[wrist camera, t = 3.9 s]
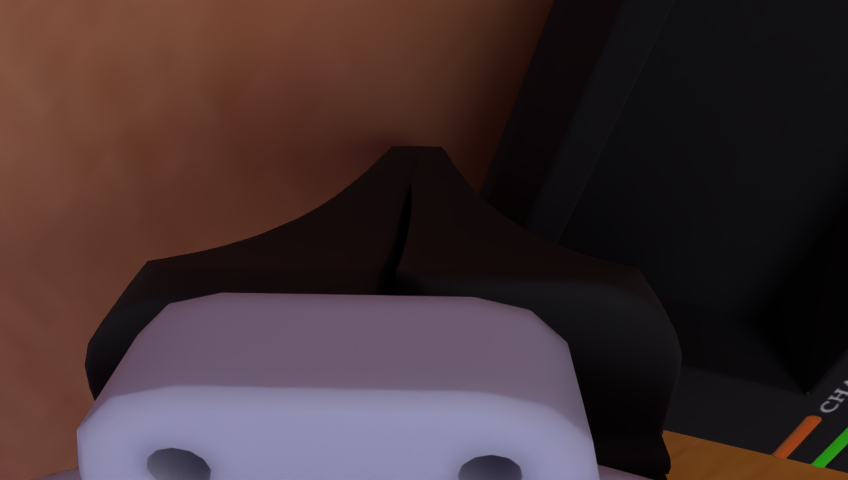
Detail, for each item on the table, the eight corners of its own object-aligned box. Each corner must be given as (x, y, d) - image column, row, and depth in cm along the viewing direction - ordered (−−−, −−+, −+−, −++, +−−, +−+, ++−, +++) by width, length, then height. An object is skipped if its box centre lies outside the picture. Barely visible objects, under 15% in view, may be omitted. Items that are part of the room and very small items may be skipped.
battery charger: (1245, 37, 12) (1576, 110, 8) (900, 383, 17) (1019, 519, 13) (621, -197, 10) (714, -226, 7) (445, 265, 15) (446, 385, 11)
